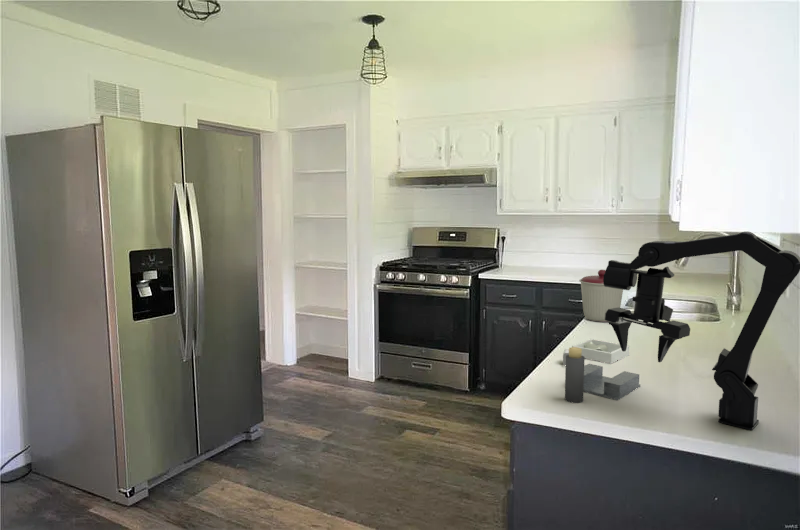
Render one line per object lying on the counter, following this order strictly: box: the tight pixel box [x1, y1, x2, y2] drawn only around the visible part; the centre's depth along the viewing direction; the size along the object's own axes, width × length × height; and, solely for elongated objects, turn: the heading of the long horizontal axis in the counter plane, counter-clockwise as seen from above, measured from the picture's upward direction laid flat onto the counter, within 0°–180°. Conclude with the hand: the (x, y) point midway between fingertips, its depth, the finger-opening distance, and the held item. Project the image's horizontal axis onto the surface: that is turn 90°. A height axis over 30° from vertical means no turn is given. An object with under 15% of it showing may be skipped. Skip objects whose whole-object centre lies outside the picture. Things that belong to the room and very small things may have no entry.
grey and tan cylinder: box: [564, 346, 585, 404], centre depth 134 cm, size 4×4×13 cm
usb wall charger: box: [562, 348, 569, 366], centre depth 164 cm, size 4×7×4 cm, turn 159°
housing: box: [583, 363, 641, 401], centre depth 144 cm, size 14×14×4 cm
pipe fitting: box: [584, 341, 608, 352], centre depth 174 cm, size 8×4×7 cm
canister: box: [579, 269, 624, 323], centre depth 225 cm, size 18×18×21 cm
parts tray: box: [571, 338, 630, 365], centre depth 173 cm, size 13×13×3 cm
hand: (641, 356), depth 132 cm, fingers open, 9 cm apart
